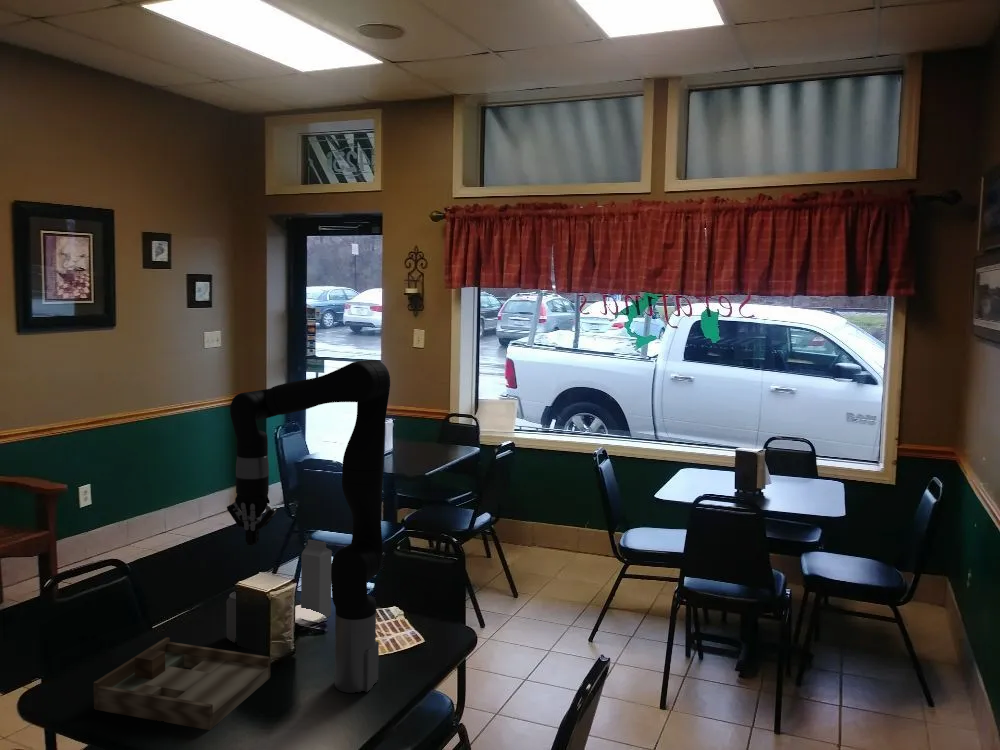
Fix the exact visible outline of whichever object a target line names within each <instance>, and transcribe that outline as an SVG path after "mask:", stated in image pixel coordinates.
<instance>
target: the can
mask: <svg viewBox="0 0 1000 750" xmlns="http://www.w3.org/2000/svg"><path fill="white" fill-rule="evenodd" d="M228 597H229V598H227V599H226V639H227V640H229V641H230V642H231V641H232V643H235V638H236V592H235V591H233V592H231V593H229V595H228ZM235 644H236V643H235Z"/></svg>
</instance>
